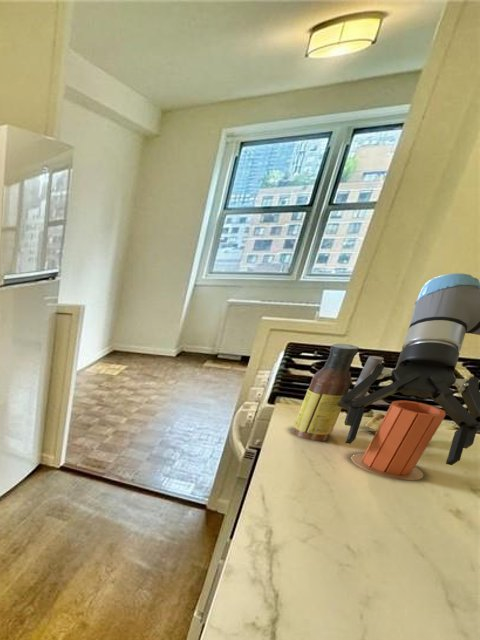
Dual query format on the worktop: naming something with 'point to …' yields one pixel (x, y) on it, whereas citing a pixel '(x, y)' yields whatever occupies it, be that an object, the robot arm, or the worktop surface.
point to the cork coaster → (414, 475)
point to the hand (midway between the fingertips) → (399, 451)
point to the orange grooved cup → (403, 437)
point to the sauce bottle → (326, 395)
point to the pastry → (375, 422)
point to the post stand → (365, 373)
